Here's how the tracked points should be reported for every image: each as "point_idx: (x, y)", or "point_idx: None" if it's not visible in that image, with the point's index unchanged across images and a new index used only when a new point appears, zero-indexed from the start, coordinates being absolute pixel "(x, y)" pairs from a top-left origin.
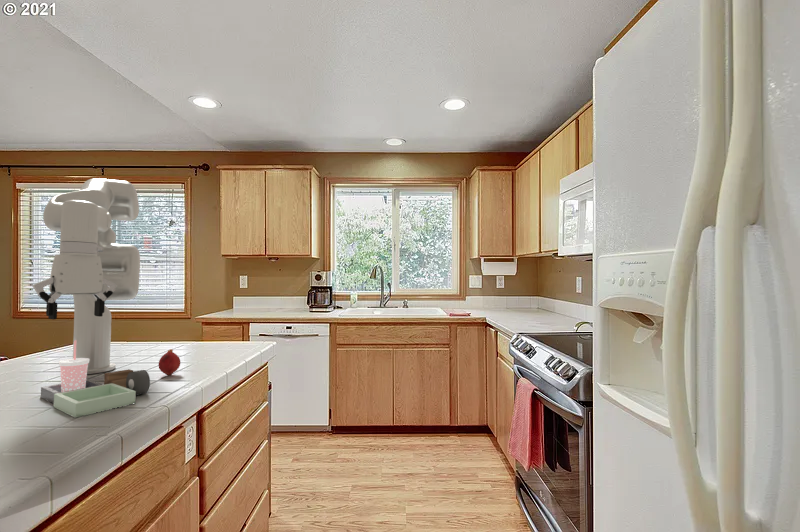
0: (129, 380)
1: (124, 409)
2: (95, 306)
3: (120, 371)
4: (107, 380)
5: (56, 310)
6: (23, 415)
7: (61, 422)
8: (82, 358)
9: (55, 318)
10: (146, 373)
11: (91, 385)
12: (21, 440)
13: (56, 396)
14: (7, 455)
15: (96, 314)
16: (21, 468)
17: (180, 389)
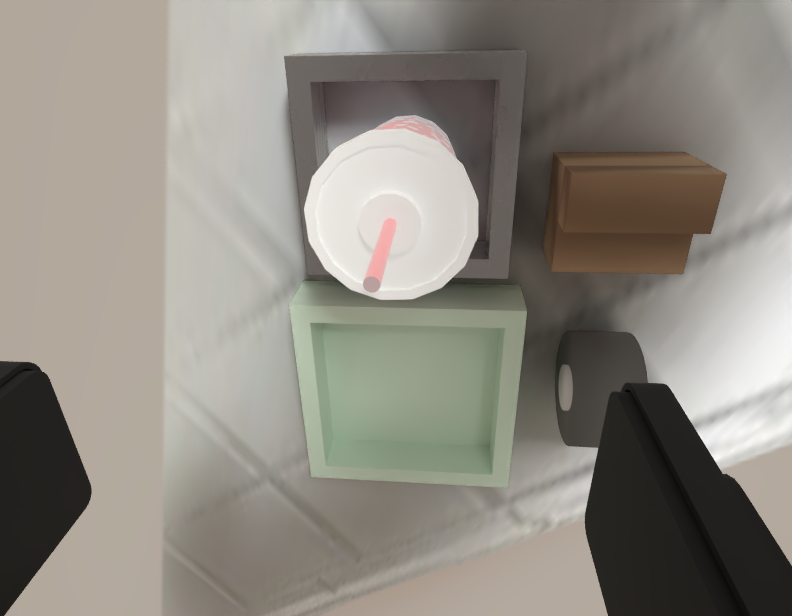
0: (567, 385)
1: None
2: (663, 548)
3: (656, 196)
4: (559, 207)
5: (9, 595)
6: (210, 302)
7: (283, 451)
8: (455, 181)
9: (78, 504)
10: None
11: (493, 164)
12: (189, 499)
13: (293, 326)
14: (163, 551)
15: (603, 468)
16: (181, 612)
17: (727, 419)
